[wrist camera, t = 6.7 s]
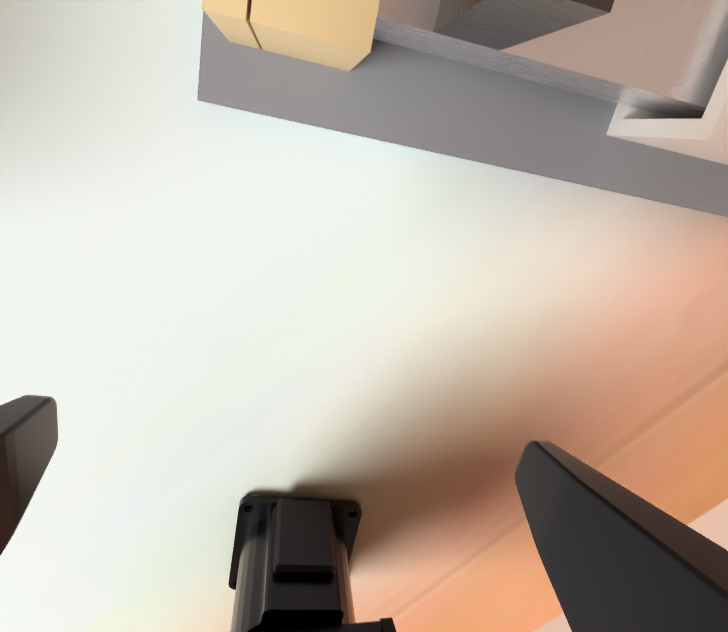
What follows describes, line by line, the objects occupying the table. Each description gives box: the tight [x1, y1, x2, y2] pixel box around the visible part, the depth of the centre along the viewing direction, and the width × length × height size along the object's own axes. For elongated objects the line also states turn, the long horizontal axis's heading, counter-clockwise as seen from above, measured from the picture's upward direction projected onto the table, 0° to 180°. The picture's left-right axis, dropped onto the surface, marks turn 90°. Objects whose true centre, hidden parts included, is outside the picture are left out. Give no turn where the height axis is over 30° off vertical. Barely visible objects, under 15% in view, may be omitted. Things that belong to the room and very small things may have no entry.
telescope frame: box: [198, 0, 728, 217], centre depth 15 cm, size 9×29×6 cm, turn 78°
